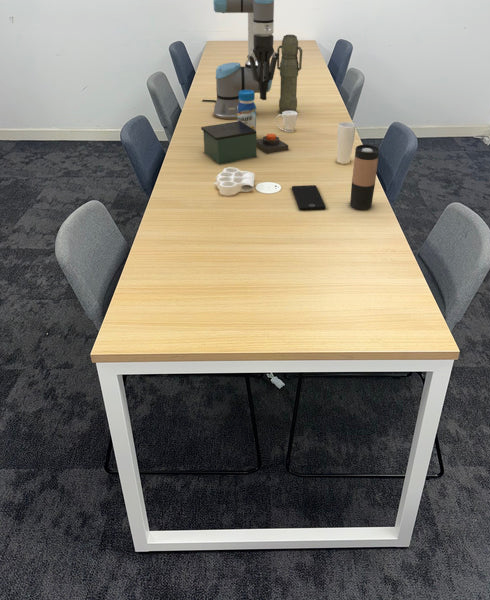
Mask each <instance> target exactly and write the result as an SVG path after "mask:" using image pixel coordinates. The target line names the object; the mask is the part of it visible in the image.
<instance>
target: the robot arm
mask: <svg viewBox="0 0 490 600" xmlns="http://www.w3.org/2000/svg"><path fill="white" fill-rule="evenodd" d="M212 1H213V11H214V12H215V13H218V14H219V13H221V14H247V53H248V54H247V56H246V58H247V59H246V60H245V62H244V66H242V65H241V63H240V62H227V63H226V62H225V63H223V64H220V65H218V66H217V67H216V69H215V80H216V85H215V86H216V100H215V99H202V102H209V103H210V102H211V103H215V105H214V109H213V116H214V118H216V119H217V118H218V119H221V120H236V119H237V120H238V118H237V112H238V110H237V106H238V104H239V102H240V100H239V91H241V90H252V91H254V93H255V94H259V99H260V100H262V101H267V93H269V92H270V91H271V89H272V84H273V80H274V77H275V71H276V68H277V59H278V57H279V58H280V53H279V54H278V53H277V51H275V48H274V37H275V36H274V35H273V34H274V29H275V26H274V25H275V23H274V22H275V20H274V17H275V0H212Z"/></svg>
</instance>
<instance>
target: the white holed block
mask: <svg viewBox="0 0 490 600" xmlns="http://www.w3.org/2000/svg"><path fill="white" fill-rule="evenodd" d="M214 179H216V181H215V182H213V186H215V187H216V188H217V189H218V190H219V194H220V195H221V196H224V197H225V196H226V197H228V196H230V197H231V196H235V195H237V194H238V193H247V192H252V191H254V185H255V179H256V174H255V173H254V172H252V171H248V170H240V169H239V168H237V167H233V166H231V167H224V168H223V169H222V171H221V172H219V173H218V174H217V176H215V177H214Z"/></svg>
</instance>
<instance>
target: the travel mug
mask: <svg viewBox="0 0 490 600" xmlns="http://www.w3.org/2000/svg"><path fill="white" fill-rule="evenodd" d="M379 155H380V148H379V147H378V146H376V145H373V144H359V145H356V147H355V151H354V160H353V167H352V168H353V169H352V176H351V177H352V178H351V189H350V202H349V203H350V204H349V206H350V207H351V209H353V210H357V211H368V210H370V209H371V208H372V204H373V198H374V192H375V187H376V180H377V179H376V178H377V171H378V163H379Z"/></svg>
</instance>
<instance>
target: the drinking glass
mask: <svg viewBox="0 0 490 600" xmlns="http://www.w3.org/2000/svg"><path fill="white" fill-rule="evenodd" d="M336 130H337V131H336V162H337V163H338V164H340V165H346V164H349V163H351V157H352V151H353V147H354V141H355V135H356V123H354V122H351V121H341V122H339V123H338V124H337V129H336Z"/></svg>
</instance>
